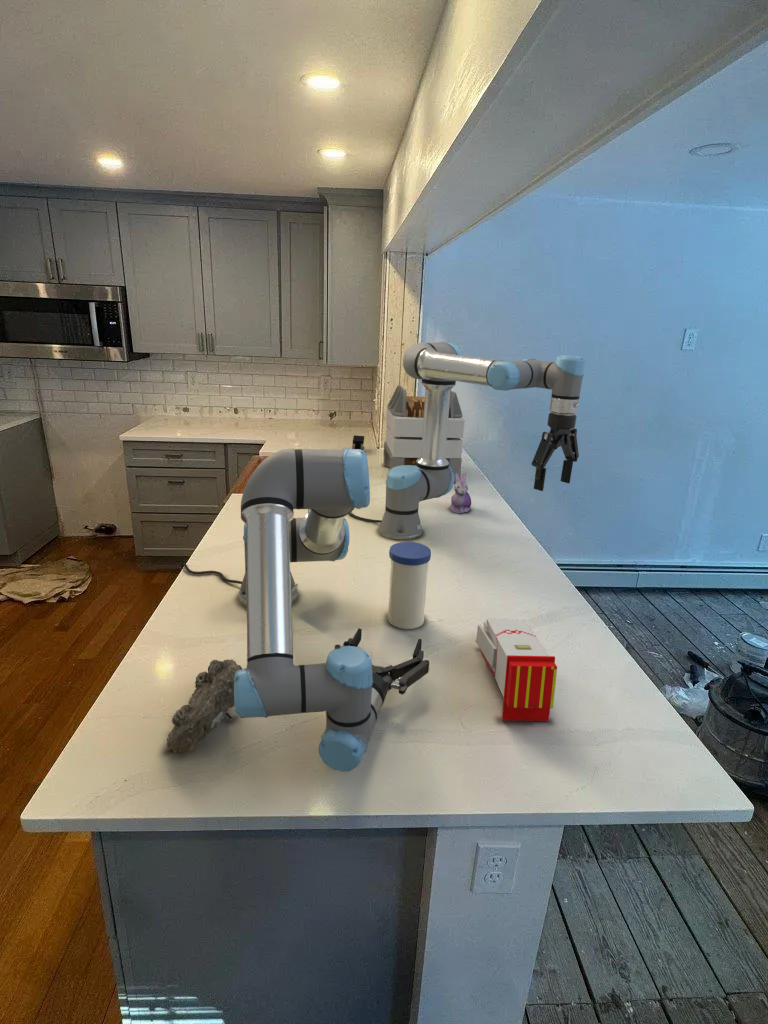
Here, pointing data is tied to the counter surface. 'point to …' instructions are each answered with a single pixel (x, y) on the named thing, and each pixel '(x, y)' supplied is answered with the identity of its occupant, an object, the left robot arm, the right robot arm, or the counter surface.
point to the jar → (407, 595)
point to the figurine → (460, 496)
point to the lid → (410, 553)
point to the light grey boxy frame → (418, 431)
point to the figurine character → (358, 442)
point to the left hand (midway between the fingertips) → (389, 638)
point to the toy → (519, 668)
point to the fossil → (204, 706)
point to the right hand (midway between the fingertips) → (552, 485)
